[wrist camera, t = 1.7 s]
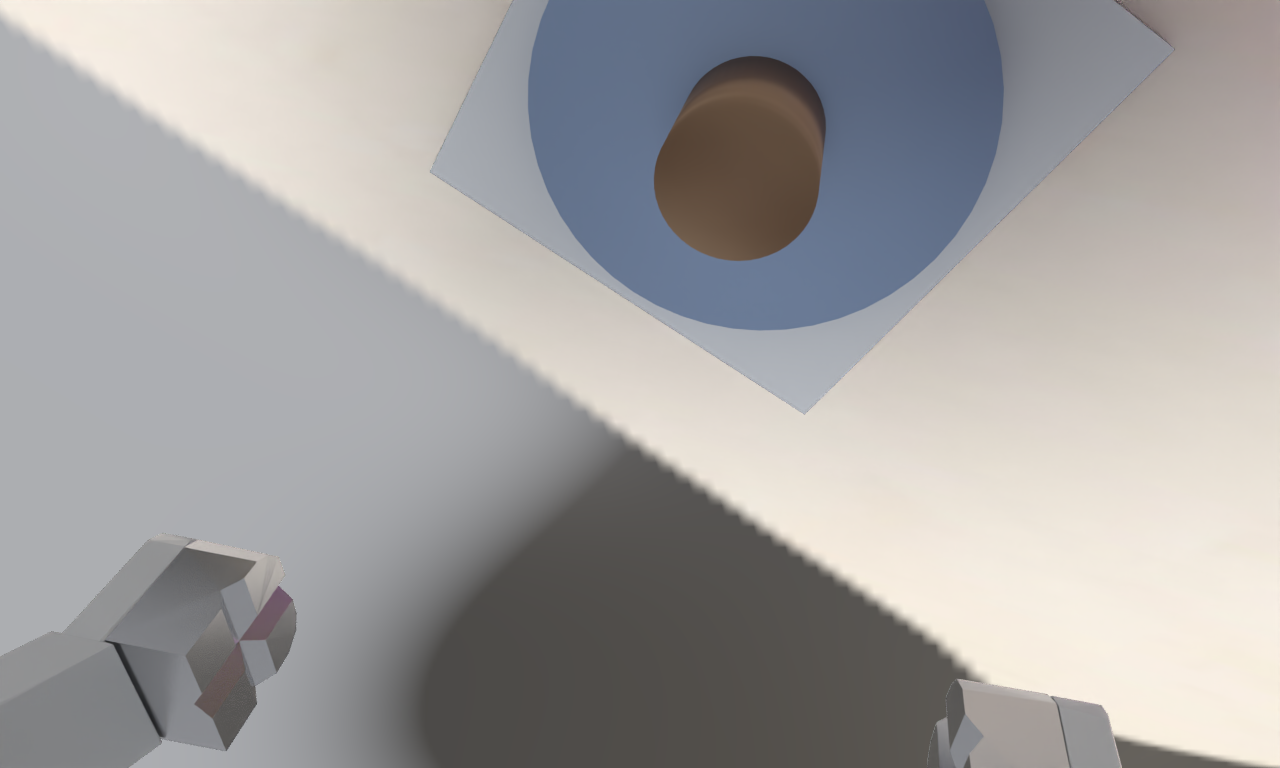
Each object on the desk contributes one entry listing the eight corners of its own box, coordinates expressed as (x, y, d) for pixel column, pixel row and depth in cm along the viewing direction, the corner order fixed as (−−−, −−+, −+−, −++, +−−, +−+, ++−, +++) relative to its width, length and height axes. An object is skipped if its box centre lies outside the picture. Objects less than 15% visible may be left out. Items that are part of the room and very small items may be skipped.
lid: (692, -269, 21) (650, -274, 17) (1112, 59, 23) (1163, 125, 19) (469, 165, 28) (403, 233, 24) (799, 381, 30) (788, 477, 26)
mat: (683, -344, 20) (680, -345, 20) (1170, 45, 23) (1174, 49, 22) (434, 167, 29) (429, 172, 29) (805, 407, 31) (804, 414, 31)
